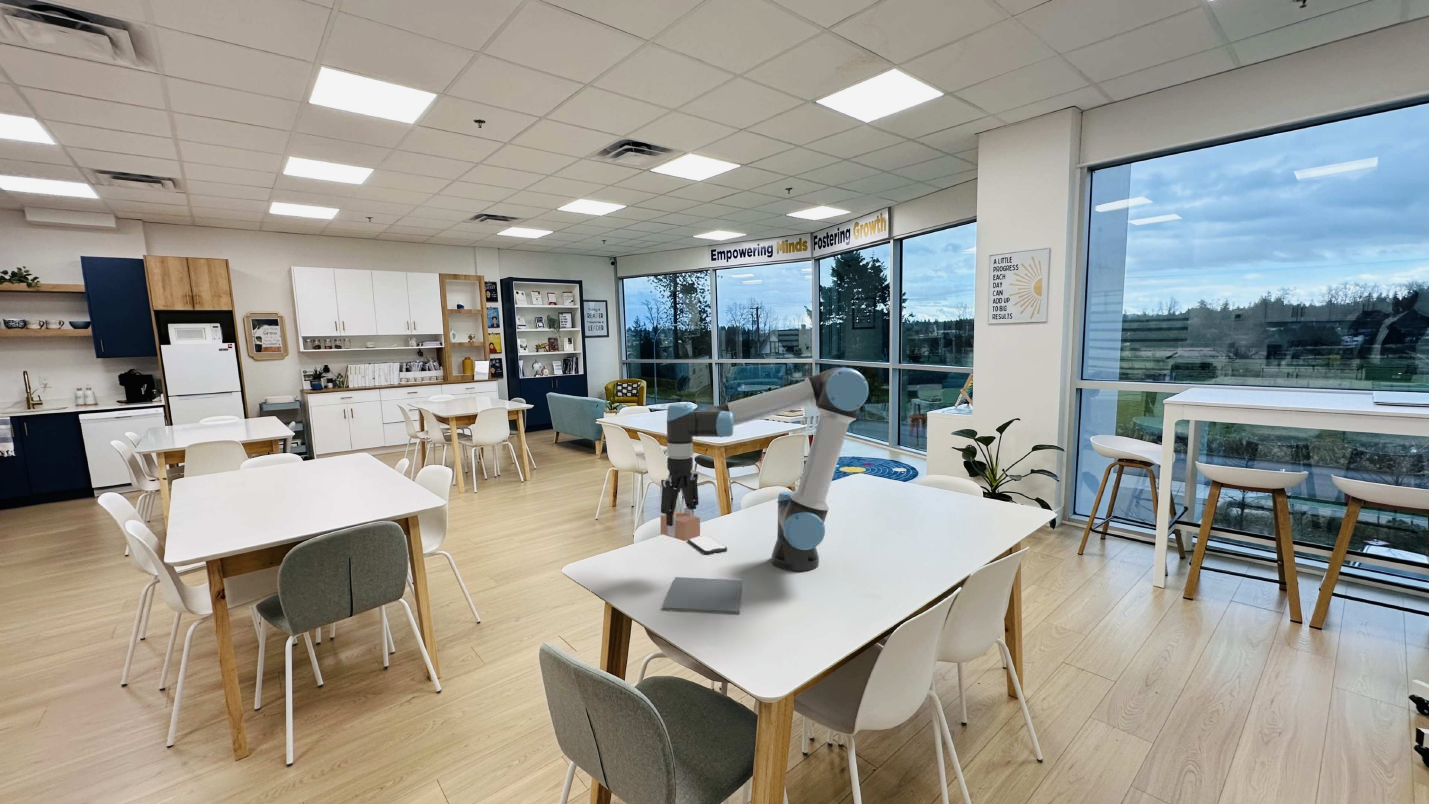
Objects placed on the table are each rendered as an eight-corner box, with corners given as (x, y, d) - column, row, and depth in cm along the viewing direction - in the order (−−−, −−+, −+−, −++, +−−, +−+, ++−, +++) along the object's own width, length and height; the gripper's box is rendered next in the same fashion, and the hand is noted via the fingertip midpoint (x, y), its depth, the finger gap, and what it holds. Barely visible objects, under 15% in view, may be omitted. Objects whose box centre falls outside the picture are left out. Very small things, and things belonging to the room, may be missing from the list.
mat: (742, 582, 163) (742, 580, 163) (738, 614, 144) (738, 611, 144) (675, 579, 165) (675, 577, 165) (662, 610, 146) (662, 607, 146)
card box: (700, 535, 165) (699, 517, 165) (684, 541, 160) (684, 522, 160) (675, 528, 171) (675, 511, 171) (660, 533, 167) (660, 515, 166)
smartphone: (686, 542, 200) (705, 556, 186) (686, 538, 200) (705, 551, 186) (708, 539, 204) (728, 552, 190) (708, 535, 204) (728, 547, 190)
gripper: (692, 450, 174) (692, 522, 176) (647, 459, 159) (647, 538, 161) (710, 453, 169) (710, 527, 171) (665, 463, 154) (666, 544, 156)
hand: (680, 532), depth 166 cm, fingers closed on card box, 6 cm apart
